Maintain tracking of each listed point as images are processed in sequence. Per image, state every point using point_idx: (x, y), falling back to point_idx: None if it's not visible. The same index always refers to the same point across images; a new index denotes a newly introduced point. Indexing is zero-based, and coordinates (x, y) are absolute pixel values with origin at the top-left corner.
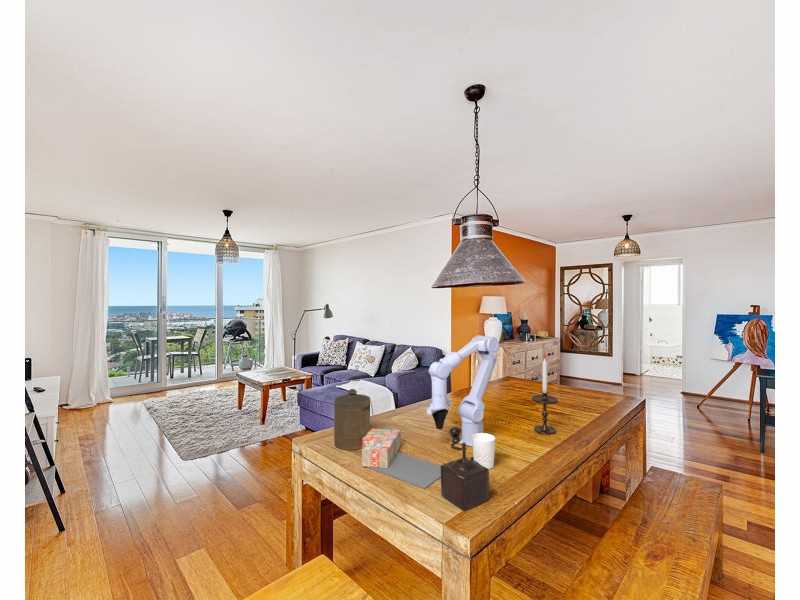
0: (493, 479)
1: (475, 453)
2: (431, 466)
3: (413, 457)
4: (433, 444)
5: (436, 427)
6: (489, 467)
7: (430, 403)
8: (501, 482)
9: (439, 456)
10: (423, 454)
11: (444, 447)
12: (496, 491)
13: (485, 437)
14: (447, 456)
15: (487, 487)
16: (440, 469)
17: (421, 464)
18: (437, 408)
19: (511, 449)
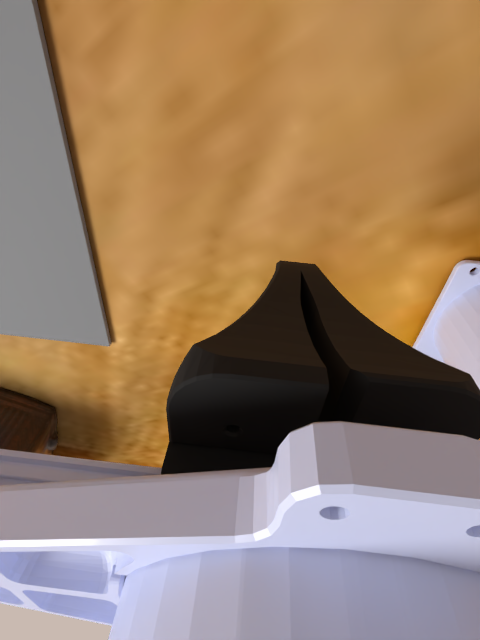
0: (158, 447)
1: None
2: (55, 269)
3: (48, 106)
4: (379, 102)
5: (276, 268)
6: None
7: (379, 501)
8: (157, 461)
9: (201, 243)
10: (160, 134)
11: (350, 211)
12: (102, 460)
13: None
14: (228, 280)
15: None
16: (67, 315)
17: (25, 213)
18: (72, 612)
19: None
